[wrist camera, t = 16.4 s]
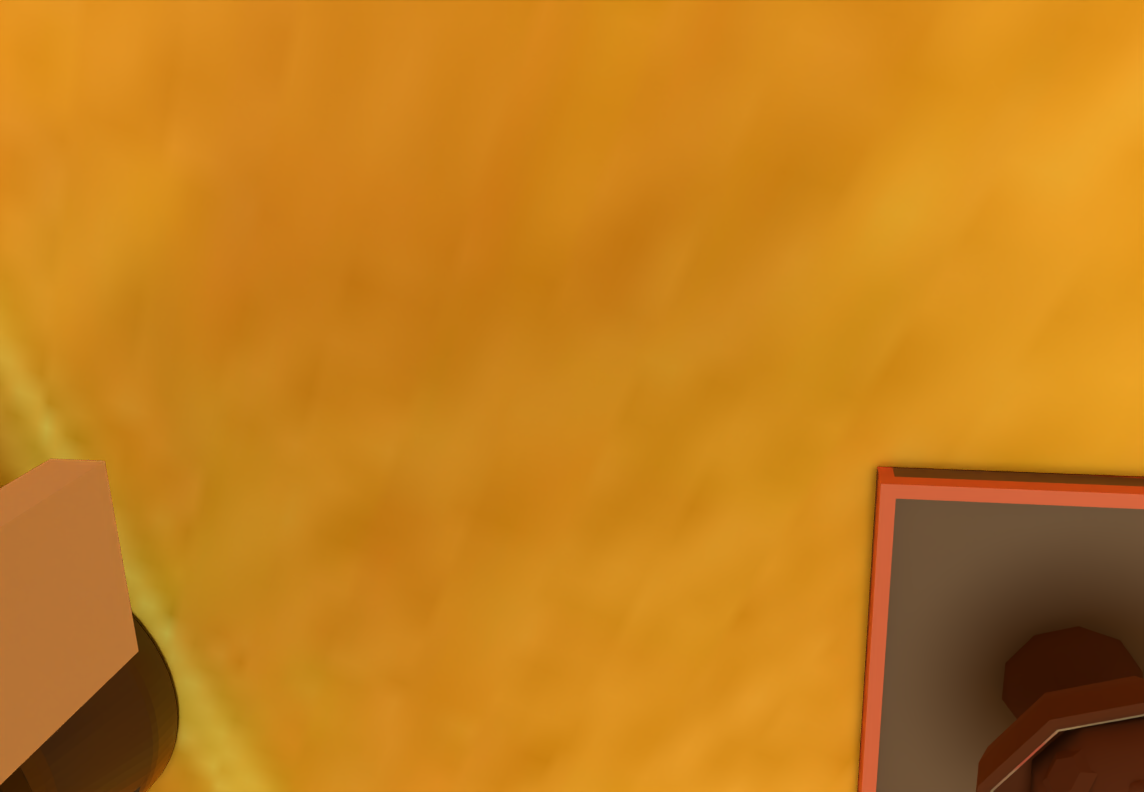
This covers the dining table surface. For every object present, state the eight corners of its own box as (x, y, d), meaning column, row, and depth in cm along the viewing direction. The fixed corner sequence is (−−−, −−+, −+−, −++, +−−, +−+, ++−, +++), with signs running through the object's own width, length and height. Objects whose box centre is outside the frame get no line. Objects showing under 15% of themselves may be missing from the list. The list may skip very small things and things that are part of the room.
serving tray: (855, 828, 50) (857, 856, 49) (877, 466, 45) (880, 483, 43) (1233, 865, 48) (1250, 895, 46) (1308, 483, 42) (1330, 502, 40)
